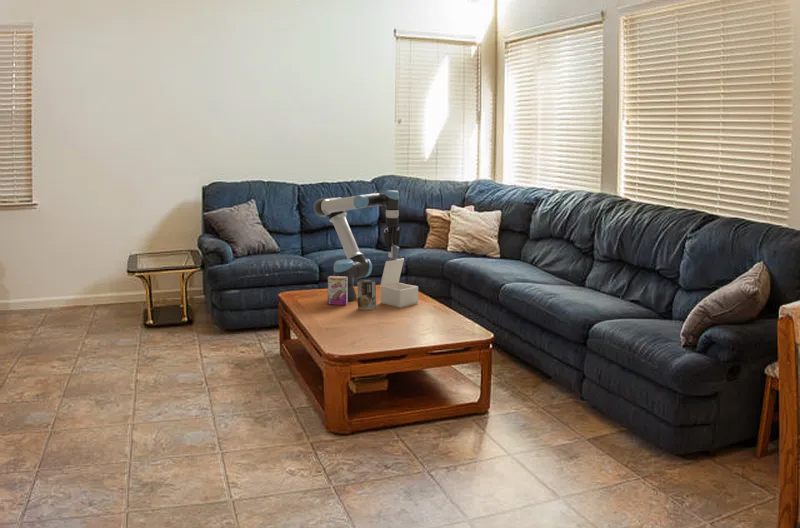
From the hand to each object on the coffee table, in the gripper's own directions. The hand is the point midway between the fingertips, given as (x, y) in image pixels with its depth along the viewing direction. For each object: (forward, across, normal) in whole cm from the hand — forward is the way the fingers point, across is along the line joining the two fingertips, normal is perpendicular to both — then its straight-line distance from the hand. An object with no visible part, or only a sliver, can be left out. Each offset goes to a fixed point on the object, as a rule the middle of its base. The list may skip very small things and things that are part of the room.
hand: (392, 256), depth 456 cm
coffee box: (+27, -22, -2) cm, 35 cm away
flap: (+5, 0, -1) cm, 6 cm away
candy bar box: (+27, -27, +18) cm, 42 cm away
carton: (+27, 0, -6) cm, 28 cm away
